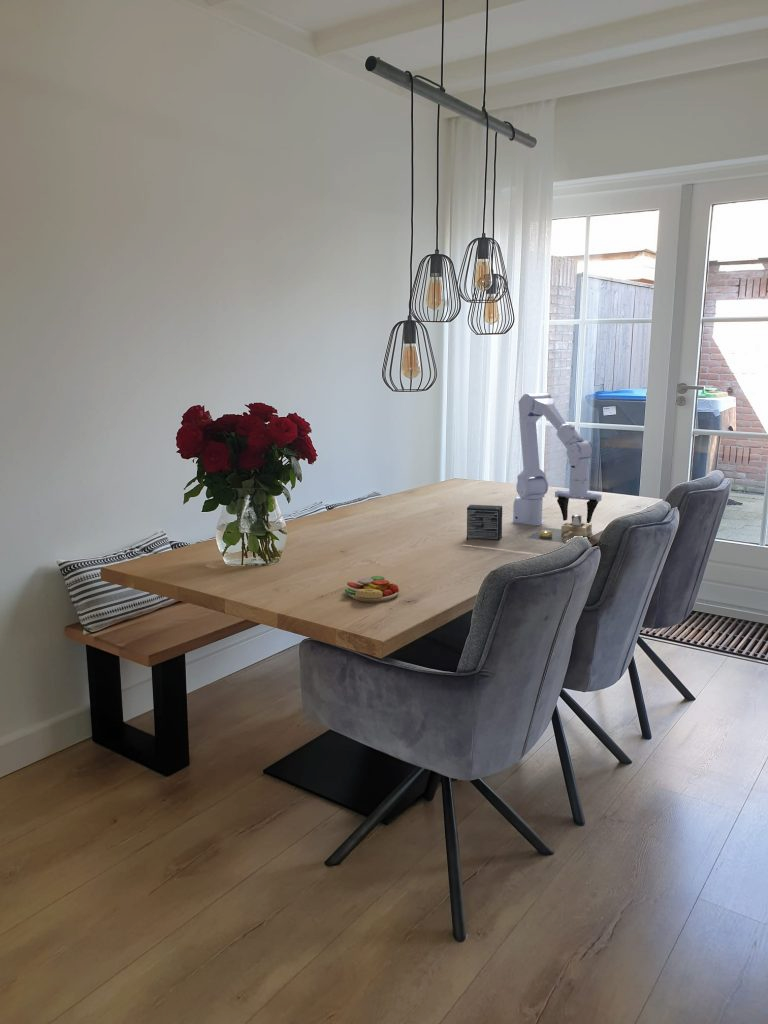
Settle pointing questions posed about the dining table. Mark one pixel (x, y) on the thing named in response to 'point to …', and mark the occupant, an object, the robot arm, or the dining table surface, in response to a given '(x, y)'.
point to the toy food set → (372, 589)
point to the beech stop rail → (567, 536)
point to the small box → (484, 522)
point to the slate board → (555, 535)
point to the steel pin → (576, 520)
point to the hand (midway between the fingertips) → (576, 521)
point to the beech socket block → (577, 529)
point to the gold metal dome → (545, 534)
